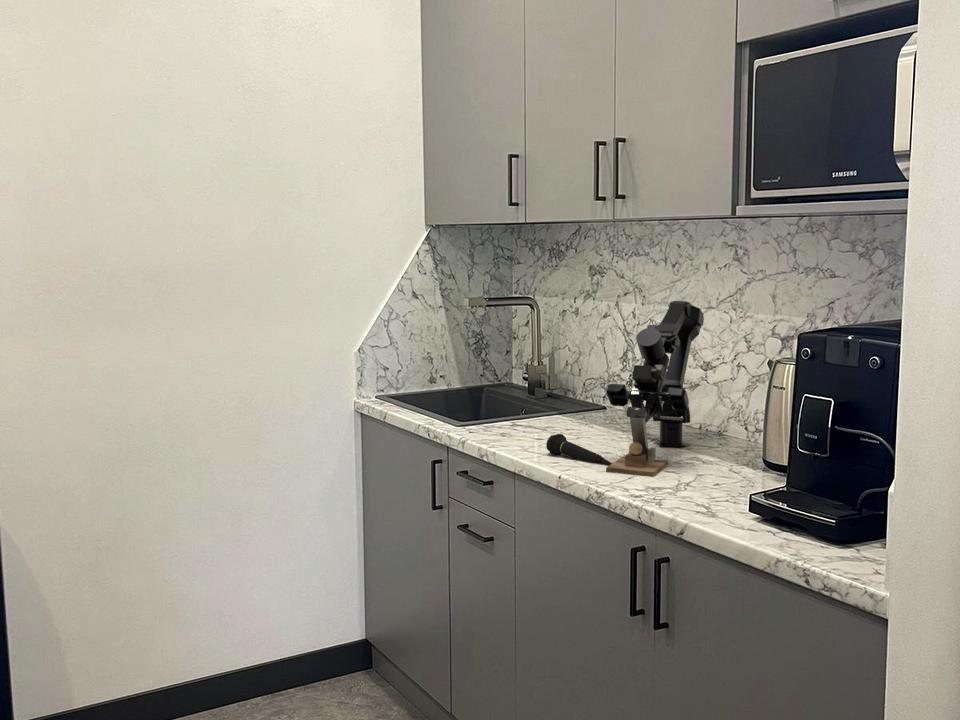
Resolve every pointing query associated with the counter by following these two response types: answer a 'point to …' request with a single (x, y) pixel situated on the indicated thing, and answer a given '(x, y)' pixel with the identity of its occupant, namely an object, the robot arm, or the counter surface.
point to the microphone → (572, 450)
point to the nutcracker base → (637, 471)
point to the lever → (639, 427)
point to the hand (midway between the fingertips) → (639, 426)
